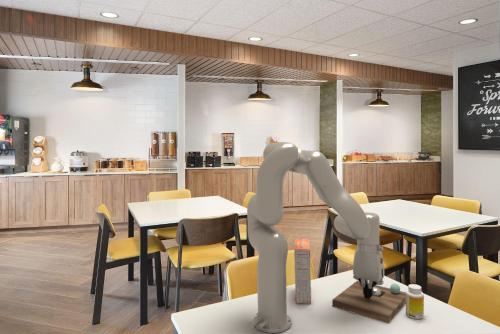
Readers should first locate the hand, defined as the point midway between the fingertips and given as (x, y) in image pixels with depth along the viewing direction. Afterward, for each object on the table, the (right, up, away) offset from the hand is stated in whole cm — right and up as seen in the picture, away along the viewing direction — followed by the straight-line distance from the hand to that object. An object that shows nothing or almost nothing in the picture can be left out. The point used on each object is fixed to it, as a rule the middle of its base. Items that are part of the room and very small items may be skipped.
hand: (367, 297), depth 128 cm
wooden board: (+2, -3, +2) cm, 4 cm away
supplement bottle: (+13, -4, -8) cm, 16 cm away
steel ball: (+5, 0, +5) cm, 7 cm away
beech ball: (+2, +2, +12) cm, 12 cm away
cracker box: (-22, -3, +9) cm, 24 cm away
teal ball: (+12, +2, +4) cm, 13 cm away
